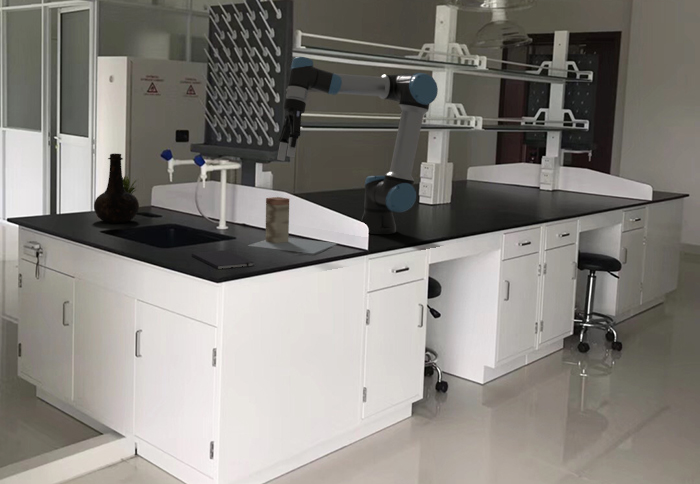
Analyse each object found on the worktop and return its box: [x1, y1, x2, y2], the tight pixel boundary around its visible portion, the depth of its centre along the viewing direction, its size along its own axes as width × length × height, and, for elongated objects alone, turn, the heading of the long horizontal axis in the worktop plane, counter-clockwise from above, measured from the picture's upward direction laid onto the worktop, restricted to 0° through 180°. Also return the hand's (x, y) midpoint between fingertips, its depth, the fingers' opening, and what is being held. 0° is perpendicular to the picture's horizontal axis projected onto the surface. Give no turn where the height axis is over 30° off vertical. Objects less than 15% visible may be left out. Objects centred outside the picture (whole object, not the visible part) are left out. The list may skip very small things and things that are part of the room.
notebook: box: [191, 250, 254, 270], centre depth 255 cm, size 13×2×21 cm
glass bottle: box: [93, 153, 140, 224], centre depth 319 cm, size 18×18×28 cm
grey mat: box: [247, 237, 338, 256], centre depth 284 cm, size 22×26×1 cm
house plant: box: [122, 174, 138, 195], centre depth 355 cm, size 14×14×16 cm
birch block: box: [264, 196, 290, 243], centre depth 287 cm, size 6×6×16 cm
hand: (285, 158), depth 278 cm, fingers open, 13 cm apart
